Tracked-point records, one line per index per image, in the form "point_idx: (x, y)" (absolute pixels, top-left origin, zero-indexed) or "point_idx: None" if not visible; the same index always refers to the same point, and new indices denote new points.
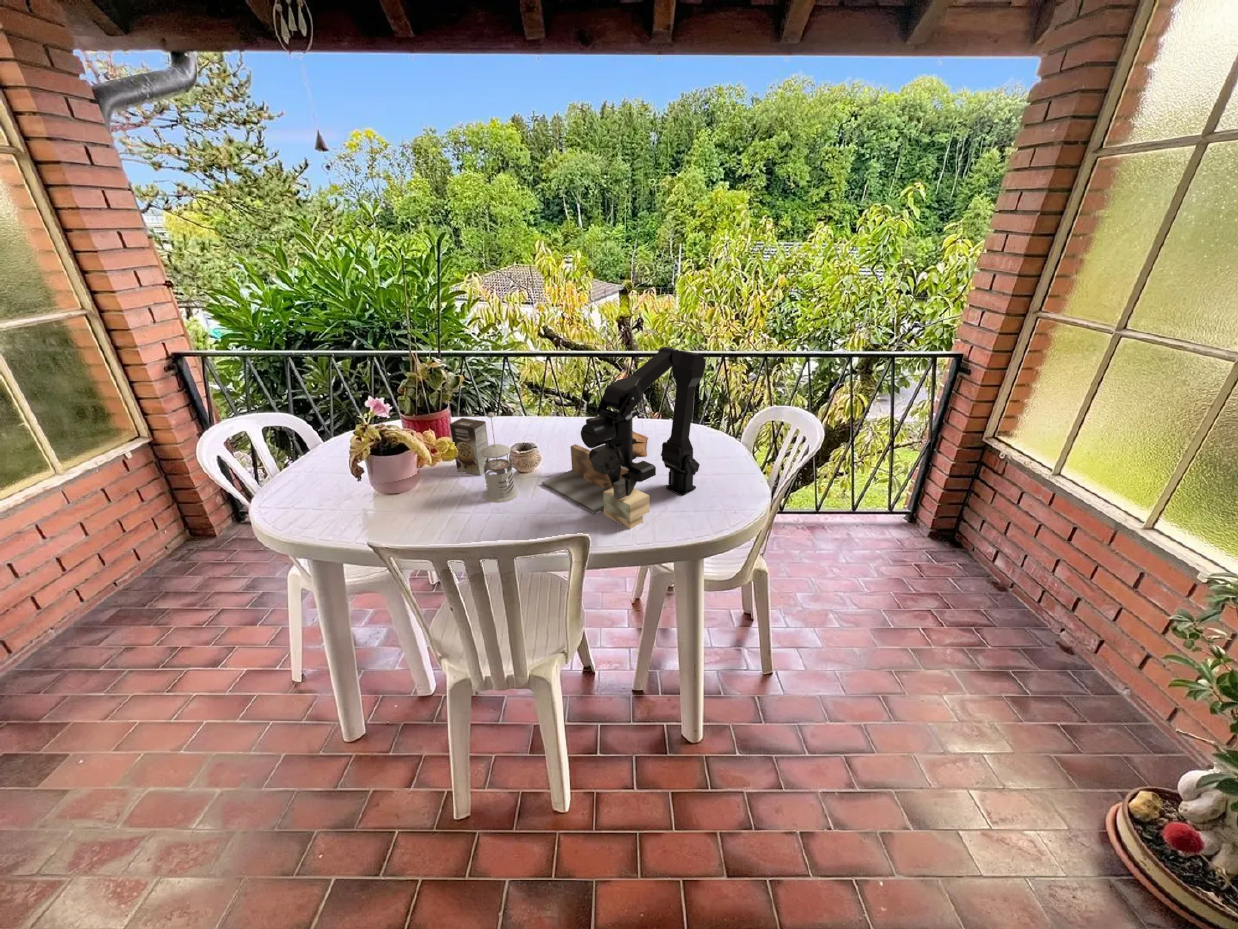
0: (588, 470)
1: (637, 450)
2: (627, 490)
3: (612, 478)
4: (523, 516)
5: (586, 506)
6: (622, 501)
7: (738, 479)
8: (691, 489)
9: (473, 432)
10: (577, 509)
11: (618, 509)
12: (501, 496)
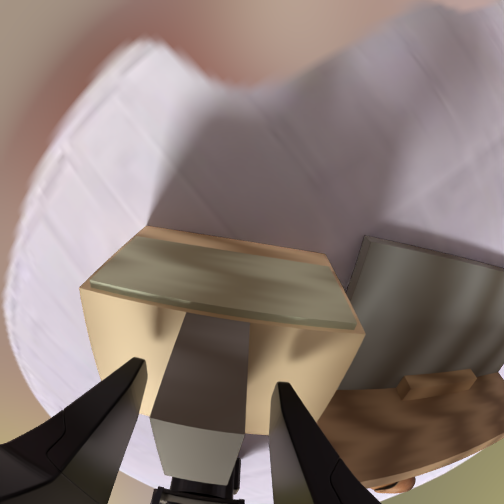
0: (469, 397)
1: None
2: (97, 388)
3: (299, 469)
4: None
5: (419, 251)
6: (150, 304)
7: (151, 477)
8: None
9: None
10: (440, 224)
11: (201, 265)
12: None
